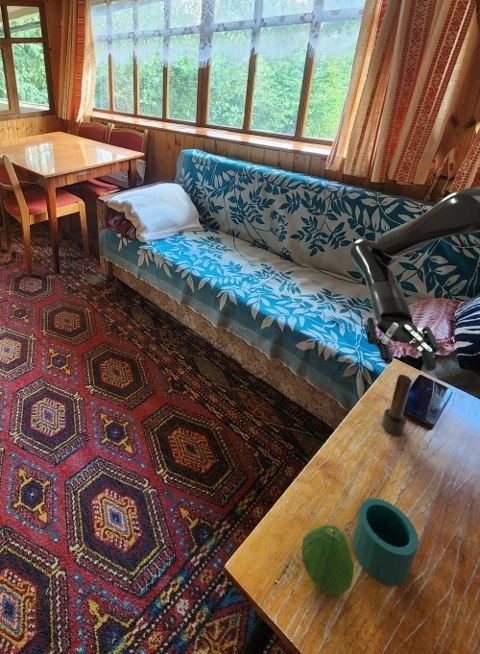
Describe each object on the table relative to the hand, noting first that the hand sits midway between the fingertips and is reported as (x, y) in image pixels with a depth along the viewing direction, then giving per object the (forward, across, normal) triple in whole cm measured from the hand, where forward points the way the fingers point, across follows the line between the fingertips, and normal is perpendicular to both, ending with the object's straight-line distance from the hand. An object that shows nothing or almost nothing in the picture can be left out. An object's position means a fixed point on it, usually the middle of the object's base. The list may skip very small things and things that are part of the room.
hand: (410, 366), depth 83 cm
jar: (+34, -11, +9) cm, 37 cm away
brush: (+7, +2, +19) cm, 21 cm away
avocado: (+39, -22, +8) cm, 46 cm away
